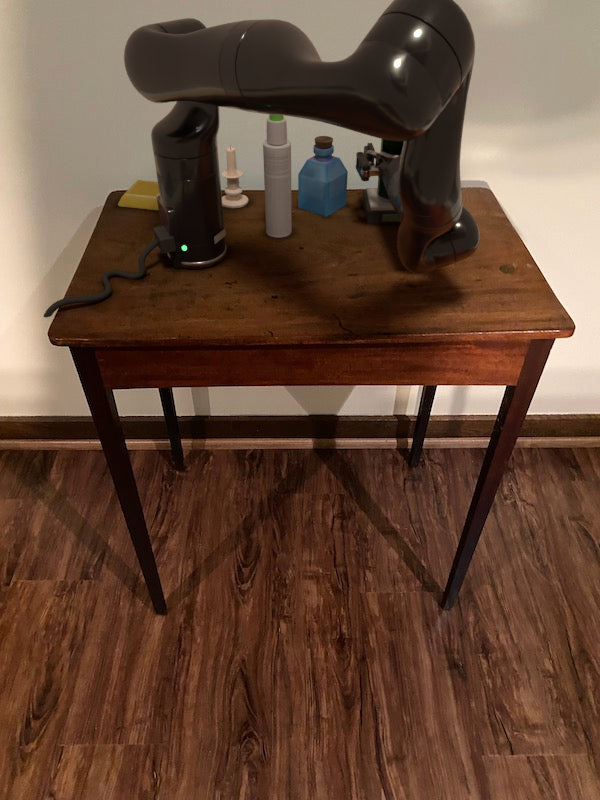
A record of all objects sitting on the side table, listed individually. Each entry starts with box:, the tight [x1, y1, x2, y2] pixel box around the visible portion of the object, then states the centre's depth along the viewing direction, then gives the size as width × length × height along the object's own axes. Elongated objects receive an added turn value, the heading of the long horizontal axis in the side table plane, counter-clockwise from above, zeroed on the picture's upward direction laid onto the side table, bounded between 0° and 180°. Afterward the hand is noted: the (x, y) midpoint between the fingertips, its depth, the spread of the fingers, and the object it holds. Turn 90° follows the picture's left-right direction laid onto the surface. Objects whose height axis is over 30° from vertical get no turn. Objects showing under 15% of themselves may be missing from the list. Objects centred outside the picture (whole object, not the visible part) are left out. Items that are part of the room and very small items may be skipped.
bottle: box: [262, 114, 293, 239], centre depth 106 cm, size 4×4×20 cm
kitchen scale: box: [361, 187, 401, 225], centre depth 117 cm, size 9×9×3 cm
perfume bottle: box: [297, 135, 349, 218], centre depth 116 cm, size 6×6×12 cm
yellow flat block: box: [117, 179, 160, 211], centre depth 122 cm, size 9×9×2 cm
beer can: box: [377, 138, 404, 203], centre depth 113 cm, size 5×5×12 cm
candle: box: [221, 144, 250, 209], centre depth 118 cm, size 5×5×10 cm
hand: (393, 148), depth 112 cm, fingers open, 8 cm apart
